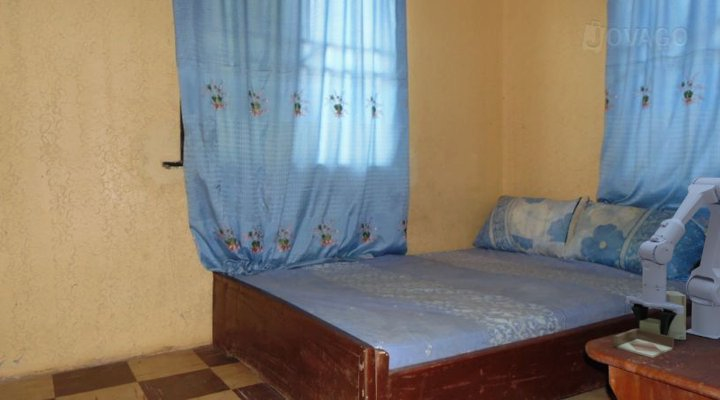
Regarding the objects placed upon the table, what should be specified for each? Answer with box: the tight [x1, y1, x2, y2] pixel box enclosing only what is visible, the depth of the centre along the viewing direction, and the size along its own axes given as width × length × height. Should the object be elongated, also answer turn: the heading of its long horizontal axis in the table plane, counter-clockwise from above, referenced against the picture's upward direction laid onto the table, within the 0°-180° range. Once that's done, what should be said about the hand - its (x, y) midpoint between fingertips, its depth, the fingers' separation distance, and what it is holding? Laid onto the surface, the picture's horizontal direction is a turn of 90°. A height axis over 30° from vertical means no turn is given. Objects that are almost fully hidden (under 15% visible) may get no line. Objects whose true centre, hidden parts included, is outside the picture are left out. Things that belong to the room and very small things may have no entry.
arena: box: [613, 328, 675, 358], centre depth 140 cm, size 11×10×3 cm
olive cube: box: [640, 317, 661, 334], centre depth 147 cm, size 5×5×5 cm
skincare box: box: [661, 290, 687, 340], centre depth 149 cm, size 6×4×12 cm
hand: (653, 334), depth 147 cm, fingers closed on olive cube, 5 cm apart
